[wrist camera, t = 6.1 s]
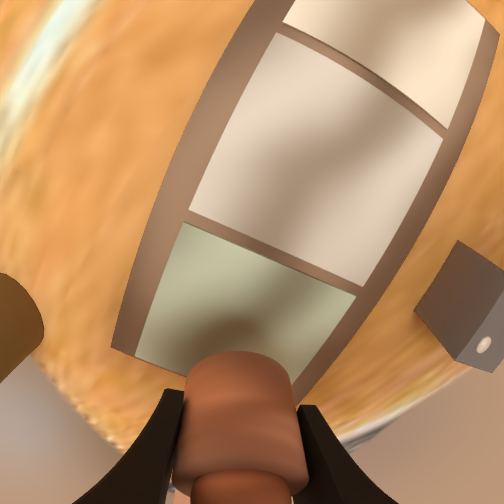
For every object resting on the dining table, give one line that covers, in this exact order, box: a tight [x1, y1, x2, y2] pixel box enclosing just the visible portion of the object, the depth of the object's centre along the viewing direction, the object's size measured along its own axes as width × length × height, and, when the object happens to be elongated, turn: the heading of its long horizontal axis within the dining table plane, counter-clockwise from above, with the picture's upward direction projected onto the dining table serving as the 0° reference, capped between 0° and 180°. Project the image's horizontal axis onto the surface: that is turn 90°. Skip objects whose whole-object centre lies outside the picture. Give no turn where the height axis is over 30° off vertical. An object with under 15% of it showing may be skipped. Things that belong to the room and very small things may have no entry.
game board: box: [111, 0, 500, 407], centre depth 13 cm, size 12×27×1 cm, turn 155°
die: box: [414, 240, 504, 373], centre depth 14 cm, size 5×5×5 cm
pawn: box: [172, 351, 309, 504], centre depth 8 cm, size 4×4×6 cm
